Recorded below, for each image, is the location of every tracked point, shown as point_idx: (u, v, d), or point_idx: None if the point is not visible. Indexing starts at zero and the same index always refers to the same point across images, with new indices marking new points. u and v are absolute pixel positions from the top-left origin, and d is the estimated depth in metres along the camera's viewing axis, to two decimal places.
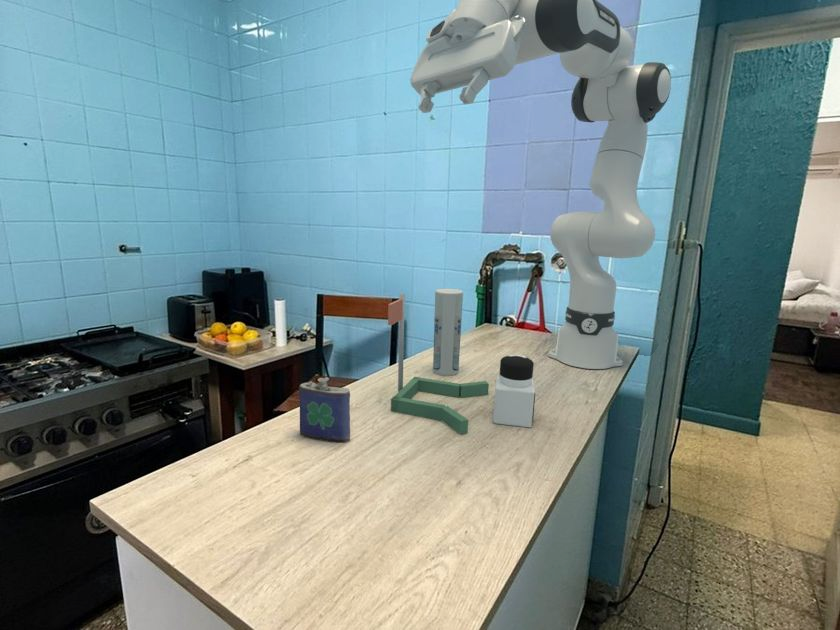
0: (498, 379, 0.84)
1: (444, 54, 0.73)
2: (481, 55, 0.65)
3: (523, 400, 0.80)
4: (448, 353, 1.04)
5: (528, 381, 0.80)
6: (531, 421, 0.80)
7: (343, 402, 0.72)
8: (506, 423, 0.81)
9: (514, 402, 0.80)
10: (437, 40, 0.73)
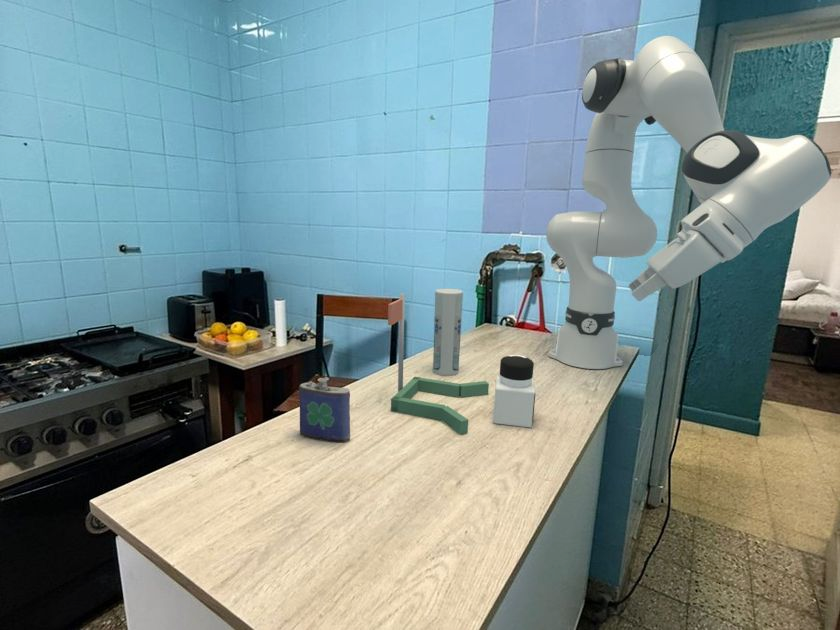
0: (498, 379, 0.84)
1: None
2: None
3: (523, 400, 0.80)
4: (448, 353, 1.04)
5: (528, 381, 0.80)
6: (531, 421, 0.80)
7: (343, 402, 0.72)
8: (506, 423, 0.81)
9: (514, 402, 0.80)
10: None
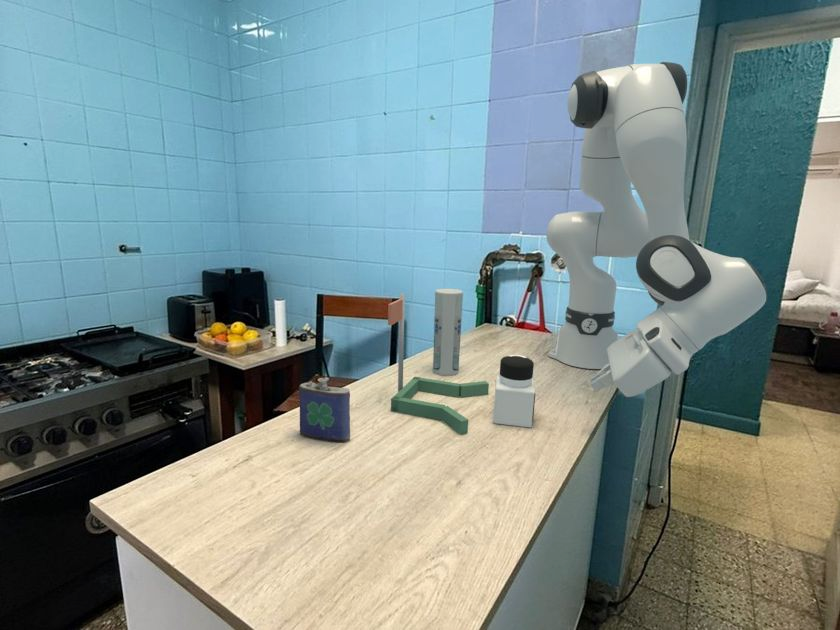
0: (498, 379, 0.84)
1: None
2: None
3: (523, 400, 0.80)
4: (448, 353, 1.04)
5: (528, 381, 0.80)
6: (531, 421, 0.80)
7: (343, 402, 0.72)
8: (506, 423, 0.81)
9: (514, 402, 0.80)
10: None
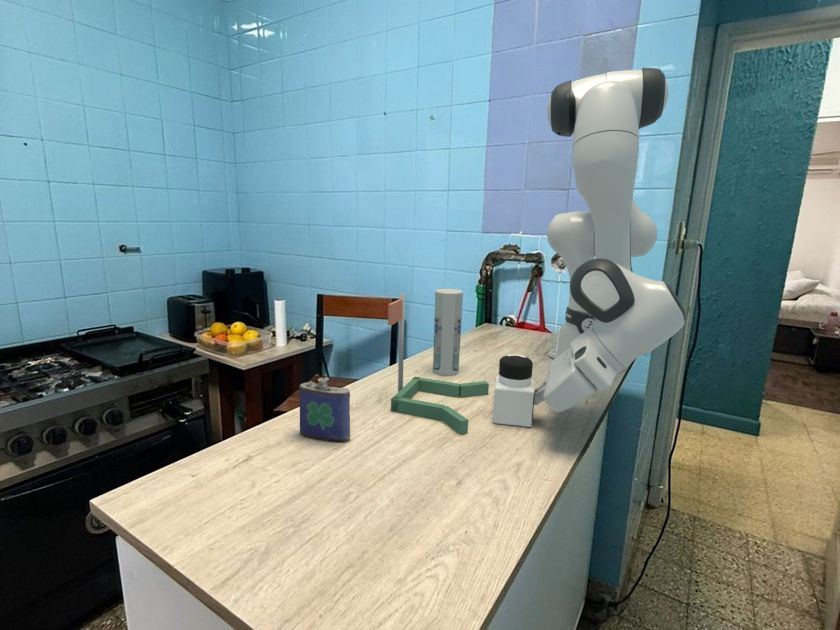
0: (497, 379, 0.84)
1: None
2: None
3: (522, 400, 0.80)
4: (448, 353, 1.04)
5: (527, 381, 0.80)
6: (531, 421, 0.80)
7: (343, 402, 0.72)
8: (506, 423, 0.81)
9: (513, 401, 0.80)
10: None
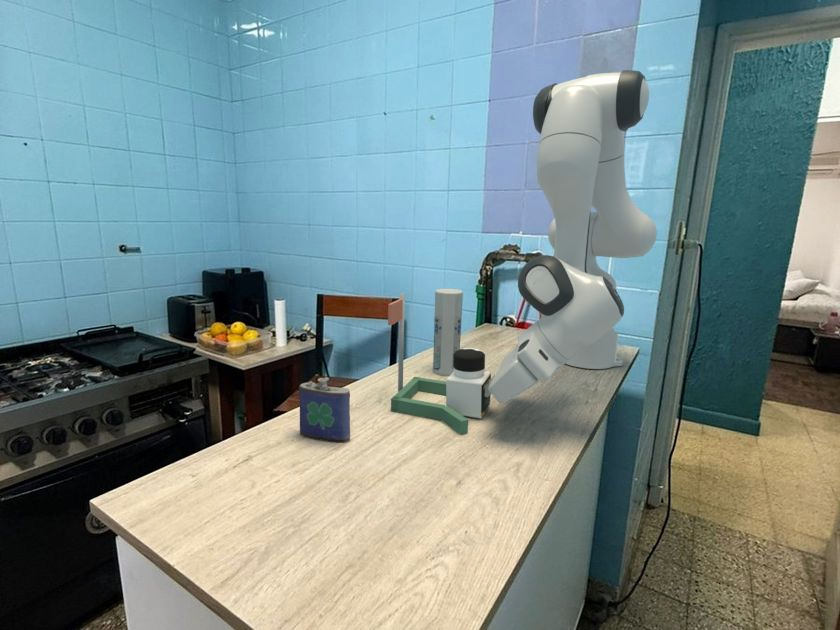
0: (454, 371, 0.88)
1: None
2: None
3: (471, 391, 0.83)
4: (448, 353, 1.04)
5: (477, 373, 0.83)
6: (480, 412, 0.83)
7: (343, 402, 0.72)
8: None
9: (463, 392, 0.83)
10: None
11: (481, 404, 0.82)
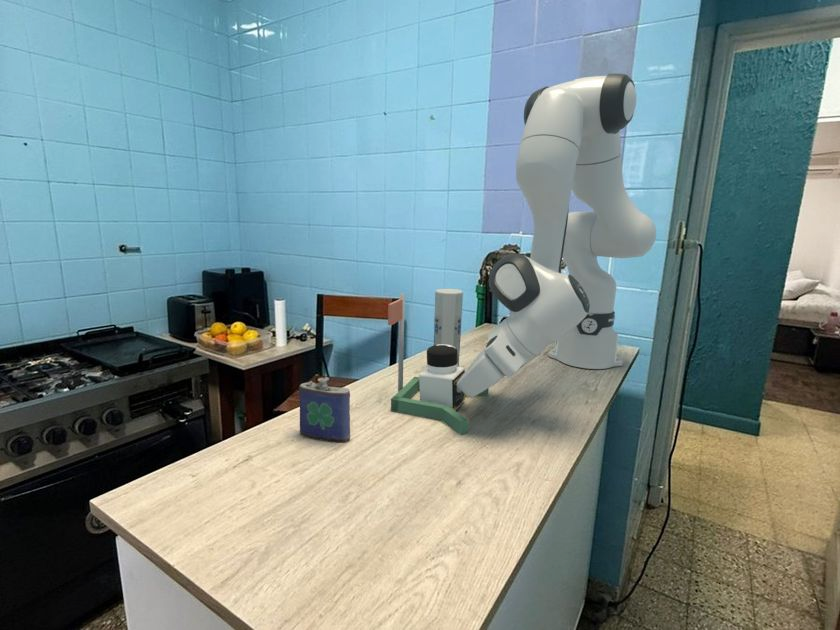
0: None
1: None
2: None
3: (443, 386, 0.84)
4: None
5: (449, 368, 0.85)
6: (452, 406, 0.84)
7: (343, 402, 0.72)
8: None
9: (435, 387, 0.85)
10: None
11: (452, 399, 0.84)
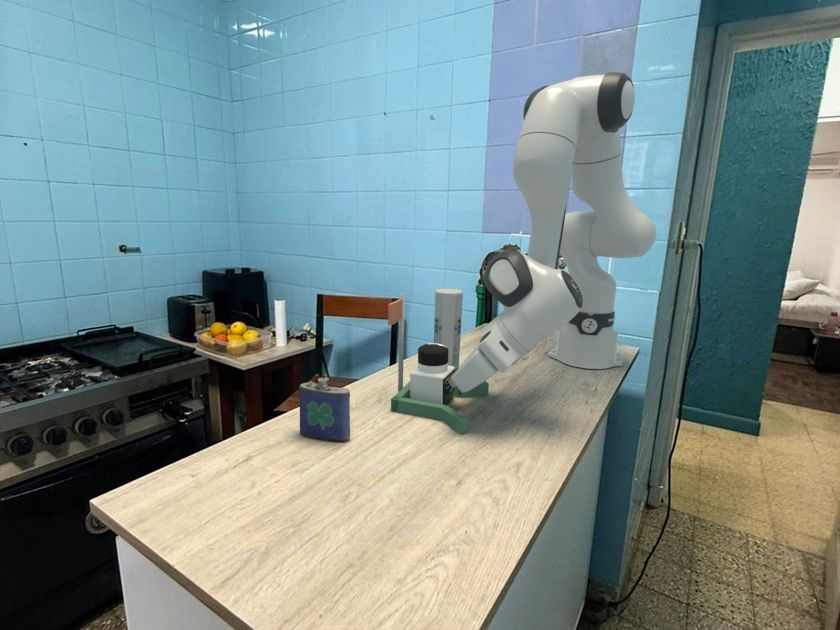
0: None
1: None
2: None
3: (433, 385, 0.85)
4: (448, 353, 1.04)
5: (440, 367, 0.86)
6: None
7: (343, 402, 0.72)
8: None
9: (426, 386, 0.86)
10: None
11: (442, 397, 0.85)
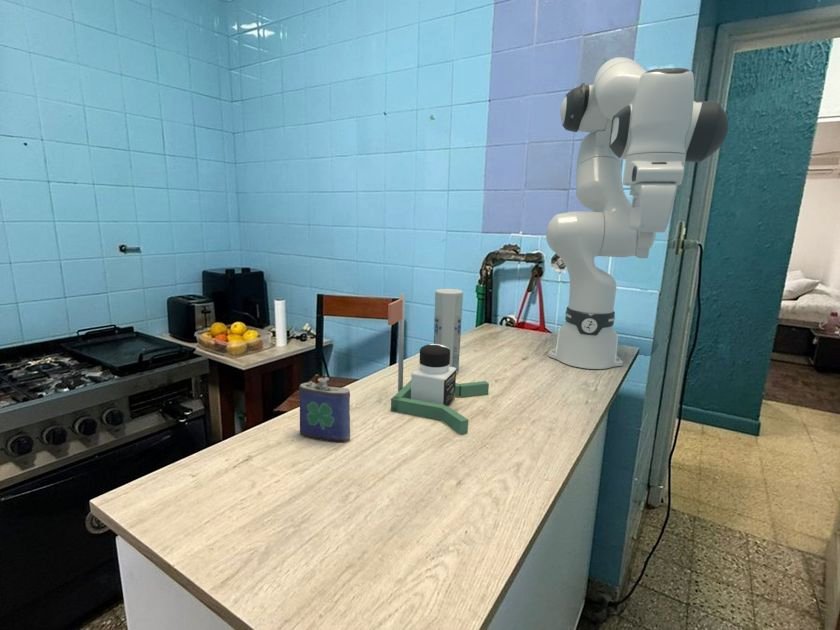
0: None
1: None
2: None
3: (435, 386, 0.85)
4: None
5: (441, 368, 0.86)
6: None
7: (343, 402, 0.72)
8: None
9: (427, 387, 0.86)
10: None
11: (443, 399, 0.85)
